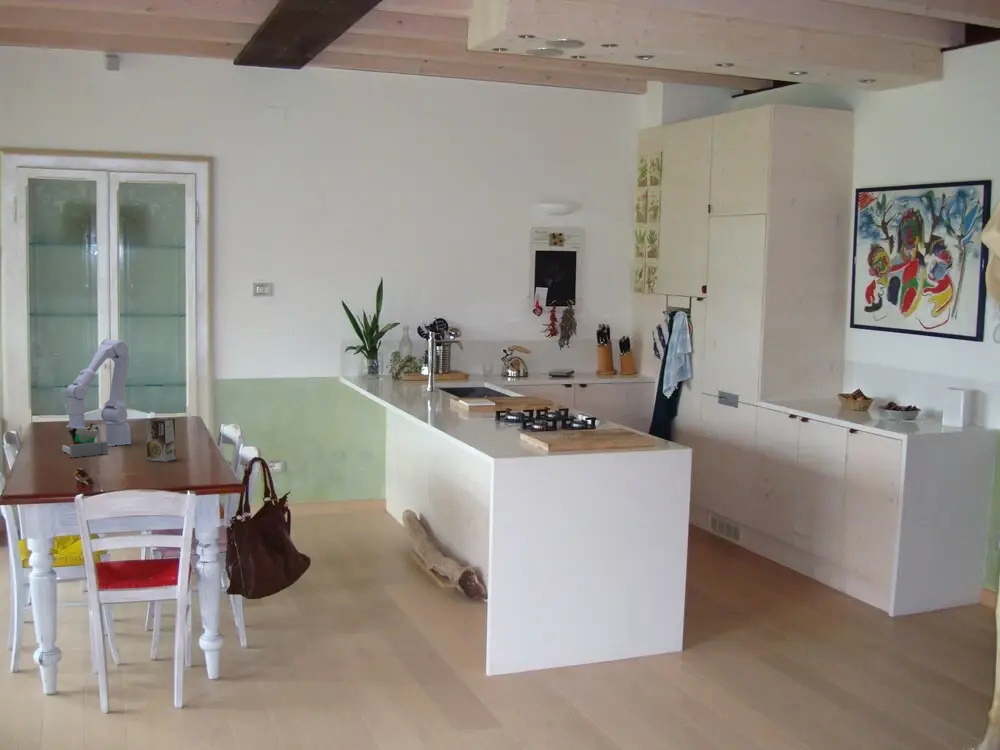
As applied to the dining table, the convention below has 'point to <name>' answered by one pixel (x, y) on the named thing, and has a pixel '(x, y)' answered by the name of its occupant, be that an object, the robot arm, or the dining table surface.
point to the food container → (86, 434)
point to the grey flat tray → (86, 449)
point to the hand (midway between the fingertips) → (77, 447)
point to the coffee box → (160, 439)
